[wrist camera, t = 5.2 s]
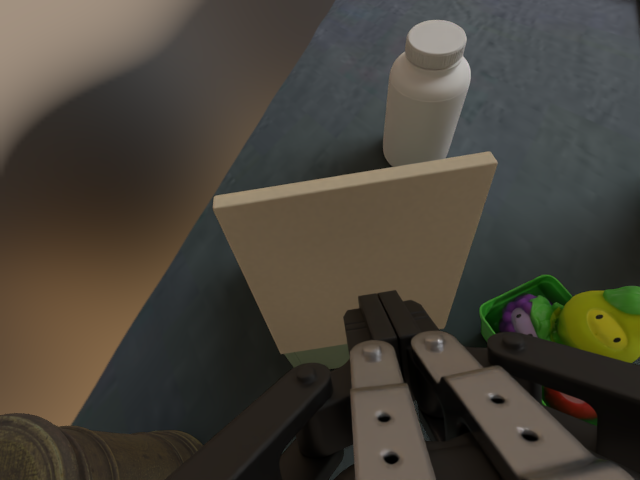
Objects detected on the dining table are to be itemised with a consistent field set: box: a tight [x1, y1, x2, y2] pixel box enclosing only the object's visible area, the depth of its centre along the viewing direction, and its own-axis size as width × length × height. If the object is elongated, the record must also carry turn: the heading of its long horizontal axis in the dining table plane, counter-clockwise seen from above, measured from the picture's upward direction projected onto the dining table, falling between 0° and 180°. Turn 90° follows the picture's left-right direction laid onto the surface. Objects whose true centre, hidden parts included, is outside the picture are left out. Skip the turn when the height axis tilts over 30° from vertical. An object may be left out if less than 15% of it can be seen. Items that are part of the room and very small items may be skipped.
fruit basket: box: [479, 275, 640, 426], centre depth 28 cm, size 11×9×11 cm
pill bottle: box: [383, 20, 471, 167], centre depth 40 cm, size 8×8×15 cm
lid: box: [213, 152, 497, 354], centre depth 20 cm, size 14×12×1 cm
